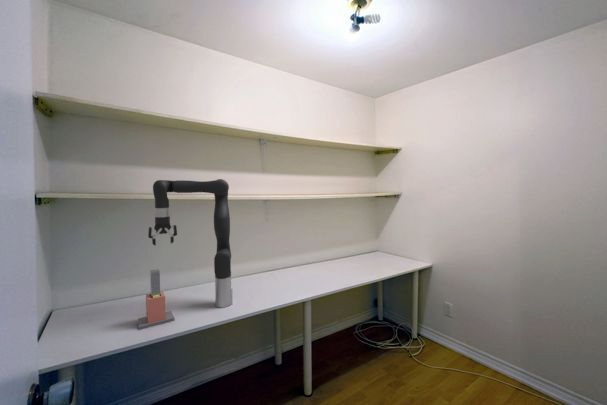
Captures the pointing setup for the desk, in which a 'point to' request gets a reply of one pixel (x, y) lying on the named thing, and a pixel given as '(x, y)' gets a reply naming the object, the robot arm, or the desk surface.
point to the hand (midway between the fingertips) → (163, 244)
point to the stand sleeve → (155, 312)
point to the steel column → (154, 282)
